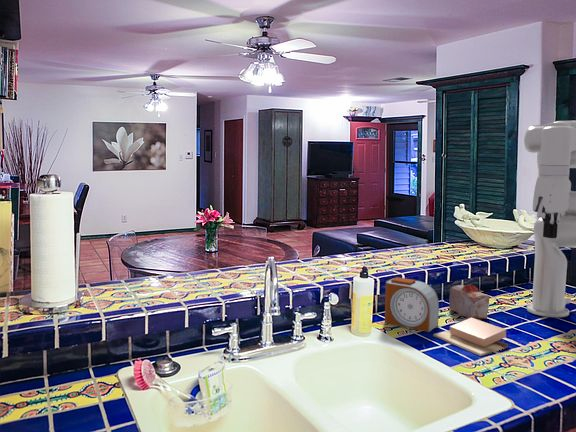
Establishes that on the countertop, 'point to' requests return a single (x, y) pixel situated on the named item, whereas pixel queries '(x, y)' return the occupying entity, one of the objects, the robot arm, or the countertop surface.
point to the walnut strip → (501, 344)
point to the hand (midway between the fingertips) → (549, 237)
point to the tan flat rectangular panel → (468, 344)
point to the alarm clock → (411, 304)
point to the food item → (468, 302)
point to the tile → (478, 331)
